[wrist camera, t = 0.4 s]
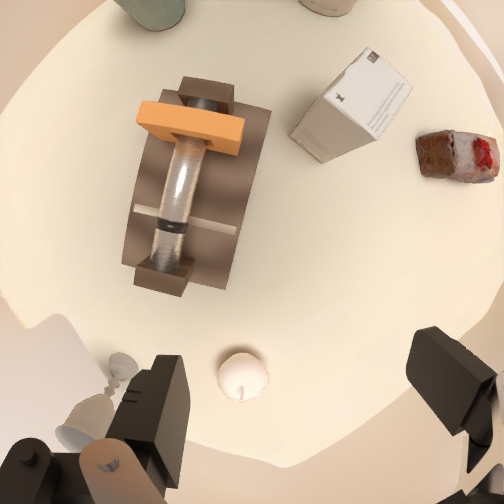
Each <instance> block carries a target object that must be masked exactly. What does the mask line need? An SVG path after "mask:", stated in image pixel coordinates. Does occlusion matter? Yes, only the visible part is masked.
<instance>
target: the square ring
mask: <svg viewBox="0 0 504 504" xmlns="http://www.w3.org/2000/svg"><path fill="white" fill-rule="evenodd" d="M244 122H245V119H244V118H239V117H235V116H231V115H226V114H222V113H217V112H212V111H207V110H202V109H196V108H191V107H185V106H179V105H172V104H165V103H158V102H150V101H142V103H141V106H140V109H139V112H138V115H137V118H136V123H138V124H139V125H140V126H142V127H143V128H145V129H146V130H147V131H149V132H150V133H152V134H153V135H155V136H156V137H157V138H159V139H160V140H163V141H168V142H174V143H176V141H177V137H178V134H182V135H188V136H193V137H198V138H203V139H207V140H208V144H207V147H206V149H208V150H213V151H217V152H222V153H226V154H230V155H234V156H237V155H238V151H239V148H240V144H241V140H242V135H243V129H244Z"/></svg>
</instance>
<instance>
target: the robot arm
mask: <svg viewBox="0 0 504 504" xmlns="http://www.w3.org/2000/svg"><path fill="white" fill-rule="evenodd" d="M299 1H300V2H301V3H302V4H303V5H305V6H306V7H307V8H309V9H311V10H312V11H314V12H317V13H319V14H322V15H326V16H336V17H338V16H343V15H345V14H347V13H348V12H349V11H350V10H351V8H352V7H353V6H354V4H355V3H356V2H357V0H299ZM406 375H407V378H408V380H409V382H410V383H411V384H412V385H413V387H414V388H415V389H416V390H417V392H418V393H419V394H420V395H421V396H422V398H423V399H424V400H425V401H426V403H427V404H428V405H429V407H430V408H431V409H432V410H433V411H434V413H435V414H436V415H437V417H438V418H439V419H440V421H441V422H442V423H443V424H444V426H445V427H446V428H447V430H448V431H449V432H450V434H451V435H452V436H454V435H456V434H458V433H460V432H462V431H463V430H466V432H467V433H466V434H465V436H464V438H463V448H462V460H461V468H460V476H459V481H458V484H457V486H456V488H455V489H454V491H453V493H452V495H451V496H449V497H447V498H446V499H444V500H442V501H440V502H438V503H437V504H504V371H503V372H501V373H499V374H497V373H496V372H494V371H493V370H492V369H491V368H490V367H488V366H487V365H486V364H485V363H484V362H483V361H482V360H480V359H479V358H478V357H477V356H475V355H473V353H472V352H471V351H469V350H466V347H464V346H463V345H462V344H461V343H459V342H458V341H457V340H454V339H452V338H450V337H449V336H448V335H447V334H445V333H444V332H443V331H442V330H440V329H439V328H438V327H436V326H433V327H429V328H424V329H420V330H417V331H416V332H415V334H414V337H413V341H412V345H411V349H410V353H409V357H408V361H407V364H406ZM189 412H190V392H189V387H188V383H187V378H186V373H185V368H184V363H183V359H182V357H181V355H157V356H156V358H155V360H154V363H153V365H152V368H151V370H144V369H142V370H141V371H140V372H139V373H138V374H136V375H135V376H134V377H133V378H132V379H131V381H130V383H129V385H128V387H127V389H126V392H125V394H124V396H123V398H122V402H120V404H119V407H118V409H117V411H116V413H115V415H114V418H113V420H112V422H111V424H110V427H109V429H108V431H107V433H106V436H105V438H102V439H98V440H95V441H93V442H91V443H89V444H88V445H87V446H86V447H85V448H84V449H83V450H82V452H81V453H52V452H51V450H50V449H49V448H48V446H47V445H46V444H45V443H44V442H43V441H41V440H39V439H36V438H25V439H22V440H19V441H18V442H16V443H15V444H14V445H13V446H12V448H11V449H10V451H9V452H8V454H7V456H6V458H5V460H4V462H3V463H2V465H1V467H0V504H167V502H166V501H165V500H164V496H165V491H166V488H175V489H178V484H179V477H180V470H181V463H182V456H183V450H184V443H185V437H186V431H187V424H188V418H189ZM502 493H503V495H502Z"/></svg>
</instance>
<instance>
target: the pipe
mask: <svg viewBox="0 0 504 504" xmlns="http://www.w3.org/2000/svg"><path fill="white" fill-rule="evenodd" d="M187 107H191V108H196V109H202V110H207V111H212V112H217V110H218V104H217V103H215V102H213V101H211V100H208V99H204V98H198V97H193V98H190V99H189V102H188V105H187ZM207 144H208V140H207V139H203V138H198V137H193V136H188V135H182V134H178V137H177V141H176V144H175V148H174V152H173V155H172V159H171V163H170V167H169V171H168V175H167V179H166V183H165V187H164V191H163V196H162V200H161V205H160V209H159V214H158V216H157V219H156V224H155V228H156V229H155V234H154V239H153V245H152V251H151V256H150V263H149V267H150V268H151V269H153V270H155V271H158V272H162V273H176V272H177V271H178V266H179V261H180V256H181V251H182V246H183V241H184V237H185V234H186V232H187V228H188V219H189V214H190V210H191V206H192V201H193V197H194V193H195V189H196V185H197V181H198V177H199V173H200V169H201V166H202V162H203V158H204V154H205V151H206V147H207Z"/></svg>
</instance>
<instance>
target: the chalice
mask: <svg viewBox="0 0 504 504" xmlns="http://www.w3.org/2000/svg"><path fill="white" fill-rule="evenodd" d="M109 362H110V365H109V366H110V368H109V369H110V372H111V374H112V376H113V377H114V378H113V379H109V381H108V383H109V386H108V387H105V393H104V394H97V395H95V396H92V397H90V398H87V399H85V400H83V401H82V402H80V403H79V404H77V405H76V406H75V407H74V409H73V410H72V412H71V413H70V415H69V417H68V418H67V420H66V422H65V423H64V424H63V425H61V426H58V427H57V428H56V430H55V433H56V436H57V438H58V440H59V441H60V443H61V444H62V445H63V446H64V447H65V448H66V449H67V450H69V451H70V452H71V453H81V452H82V450H83V449H84V448H85V447H86V446H87V445H88V444H89V443H91V442H93V441H95V440H98V439H102V438H105V436H106V433H107V431H108V429H109V427H110V424H111V422H112V420H113V418H114V415H115V411H114V406H113V402H112V400H111V399H110V396H111V395H114V393H115V392H114V389H115V388H118V387H119V383H118V381H128V380H129V379H131V378H133V377H134V376H135V375H136V374H137V373H138V366H137V364H136V362H135V361H134V360H133V359H132V358H131V357H130V356H128V355H126V354H123V353H115V354H113V355H112V356H111V357H110V361H109Z"/></svg>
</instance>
